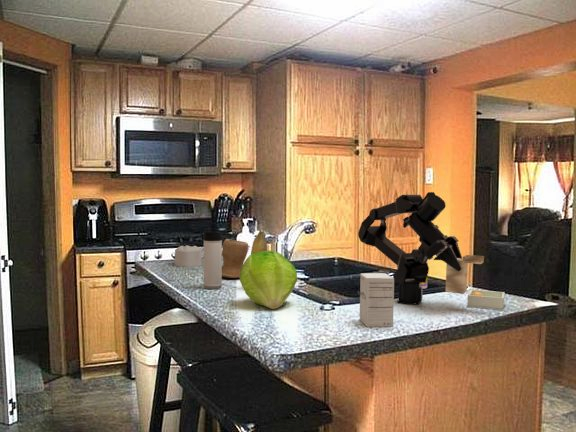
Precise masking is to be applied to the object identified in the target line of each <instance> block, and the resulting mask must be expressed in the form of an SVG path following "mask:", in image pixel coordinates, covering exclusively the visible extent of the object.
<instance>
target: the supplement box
mask: <svg viewBox="0 0 576 432" xmlns="http://www.w3.org/2000/svg"><path fill="white" fill-rule="evenodd" d="M359 282H360V283H359V286H360V287H359V290H360V291H359V320H360V321H361V322H362V323H363V324H364V325H365V327H367V328H369V327H371V328H375V327H376V328H377V327H380V328H382V327H394V309H395V306H394V305H395V282H394V276H391V275H389V274H387V273H385V272H382V273H380V272H375V273H372V272H371V273H368V272H367V273H365V272H364V273H360V281H359Z"/></svg>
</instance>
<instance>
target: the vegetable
mask: <svg viewBox="0 0 576 432" xmlns="http://www.w3.org/2000/svg"><path fill="white" fill-rule="evenodd" d="M251 245H252V246H251V250H250V251H251V252H250V255H251V254H253V253H258V252H263V251H268V241H267V238H266V233H265V232H264V231H259V232H258V233H257V234H256V236H255V237H254V239H253V242H252V244H251Z"/></svg>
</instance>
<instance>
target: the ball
mask: <svg viewBox="0 0 576 432" xmlns="http://www.w3.org/2000/svg"><path fill="white" fill-rule="evenodd" d="M472 295H475V296H483V295H482V294H481V293H480V292H474V293H473V294H472Z"/></svg>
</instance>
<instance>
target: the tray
mask: <svg viewBox="0 0 576 432" xmlns="http://www.w3.org/2000/svg"><path fill="white" fill-rule="evenodd" d="M474 292H480V293H481V294H482V295H483V296H475V295H472V294H473V293H474ZM505 294H506V293H505V291H494V290H492V291H491V290H482V289H481V290H479V289H469V292H468V294H467V303H466V304H467V305H466V306H467V308H477V309H487V310H498V311H499V310H500V311H504V309H505Z"/></svg>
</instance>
